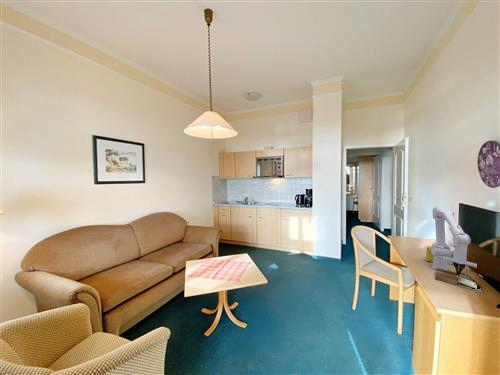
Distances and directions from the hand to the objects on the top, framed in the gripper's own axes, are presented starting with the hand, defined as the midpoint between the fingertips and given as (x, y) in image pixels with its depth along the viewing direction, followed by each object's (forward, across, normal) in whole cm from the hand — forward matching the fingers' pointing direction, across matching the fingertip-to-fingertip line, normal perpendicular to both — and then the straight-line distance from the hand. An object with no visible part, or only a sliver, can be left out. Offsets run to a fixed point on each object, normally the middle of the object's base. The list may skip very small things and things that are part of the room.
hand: (458, 274), depth 129 cm
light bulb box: (+5, -3, +38) cm, 39 cm away
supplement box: (+5, -13, +30) cm, 33 cm away
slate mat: (+5, +5, 0) cm, 7 cm away
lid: (+4, +4, 0) cm, 5 cm away
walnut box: (+5, -5, 0) cm, 7 cm away
